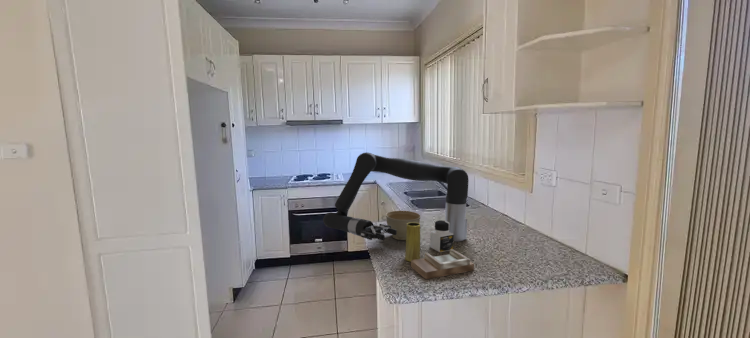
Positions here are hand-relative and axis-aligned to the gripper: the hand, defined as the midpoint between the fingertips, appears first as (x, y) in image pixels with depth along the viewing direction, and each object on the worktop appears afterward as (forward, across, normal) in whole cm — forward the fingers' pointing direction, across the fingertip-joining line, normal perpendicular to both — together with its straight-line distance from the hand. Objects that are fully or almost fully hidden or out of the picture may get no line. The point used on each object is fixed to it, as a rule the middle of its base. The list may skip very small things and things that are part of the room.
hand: (390, 235), depth 138 cm
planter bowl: (-7, +19, +8) cm, 22 cm away
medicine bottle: (+14, +18, +8) cm, 24 cm away
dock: (+24, -1, +8) cm, 25 cm away
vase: (+11, 0, +8) cm, 13 cm away
